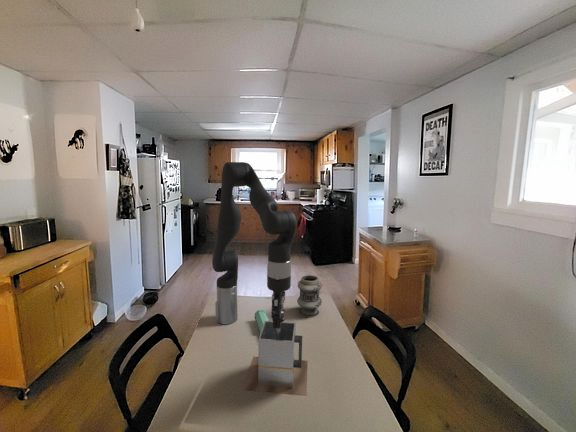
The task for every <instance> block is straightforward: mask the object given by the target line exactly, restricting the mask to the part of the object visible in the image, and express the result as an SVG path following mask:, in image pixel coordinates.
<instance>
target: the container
mask: <svg viewBox="0 0 576 432" xmlns="http://www.w3.org/2000/svg"><path fill="white" fill-rule="evenodd" d="M267 315H268V314H267V312H266V311H265V310H264V309H258V310H256V311H255V312H254V320H255V321H256V323H257V326H258V329H259V333H261V330H262V327H263V324H264V321H269V318H268V316H267Z"/></svg>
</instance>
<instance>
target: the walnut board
mask: <svg viewBox="0 0 576 432" xmlns="http://www.w3.org/2000/svg"><path fill="white" fill-rule="evenodd" d="M308 362H309V361H308V360H304V359H302V366H301V368H294V378H293V388H285V387H273V386H262V385H258V356H254V355H253V357H252V360H251V362H250V366H249V369H248V372H247V376H246V378H245V382H244V384H243V388H242V391H247V392H260V393H268V394H269V393H272V394H282V395H283V394H284V395H292V396H305V397H306V396H307V395H308V393H307V392H308Z"/></svg>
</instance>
